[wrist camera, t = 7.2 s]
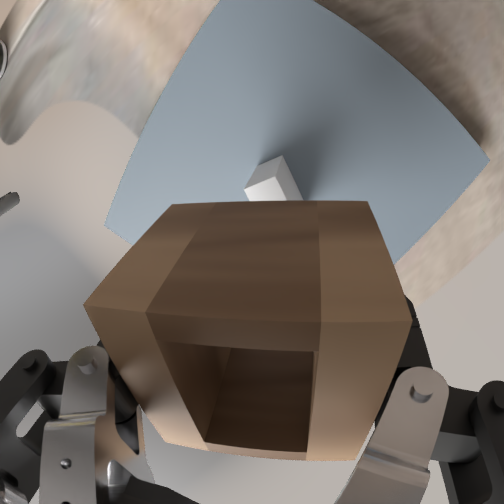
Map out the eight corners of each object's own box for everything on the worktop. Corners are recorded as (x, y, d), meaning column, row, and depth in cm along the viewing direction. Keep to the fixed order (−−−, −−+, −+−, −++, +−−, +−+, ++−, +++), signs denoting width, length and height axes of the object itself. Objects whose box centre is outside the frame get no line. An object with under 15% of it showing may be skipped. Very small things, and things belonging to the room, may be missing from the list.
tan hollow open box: (171, 204, 10) (83, 304, 6) (367, 201, 9) (412, 320, 4) (204, 338, 13) (165, 441, 9) (350, 344, 12) (354, 460, 7)
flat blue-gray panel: (252, -24, 13) (229, -60, 8) (476, 152, 16) (524, 182, 11) (117, 214, 23) (73, 253, 18) (300, 329, 26) (295, 386, 21)
